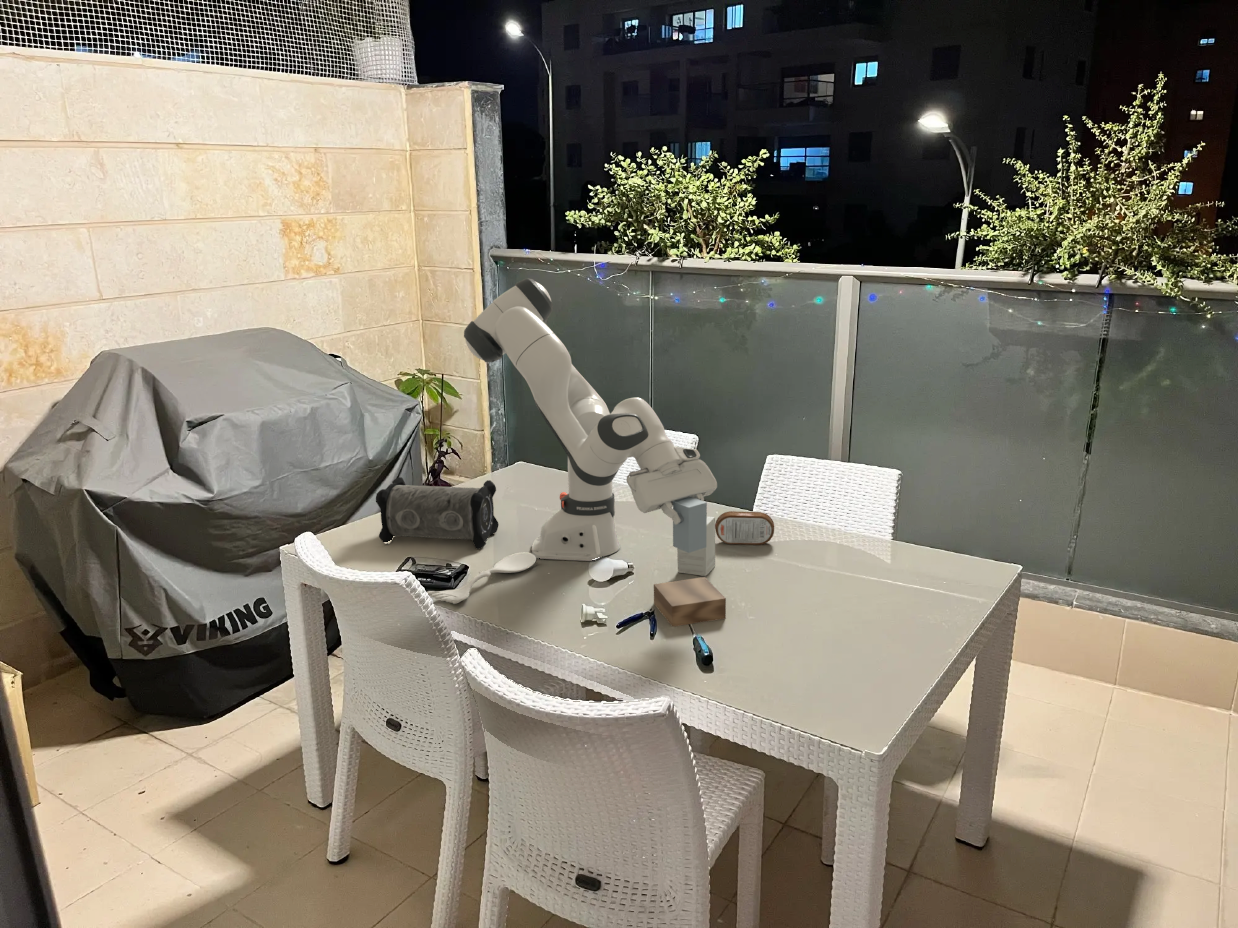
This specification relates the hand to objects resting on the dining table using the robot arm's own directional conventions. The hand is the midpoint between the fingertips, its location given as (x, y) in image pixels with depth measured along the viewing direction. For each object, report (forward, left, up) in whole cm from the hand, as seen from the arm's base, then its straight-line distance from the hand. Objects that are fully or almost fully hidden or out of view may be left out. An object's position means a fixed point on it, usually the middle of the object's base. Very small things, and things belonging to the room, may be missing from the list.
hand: (691, 519), depth 200 cm
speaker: (-62, +49, -22) cm, 82 cm away
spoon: (-46, +19, -22) cm, 54 cm away
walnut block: (0, 0, -22) cm, 22 cm away
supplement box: (+4, +23, -21) cm, 32 cm away
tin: (+18, +39, -21) cm, 48 cm away
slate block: (0, +1, -6) cm, 6 cm away
